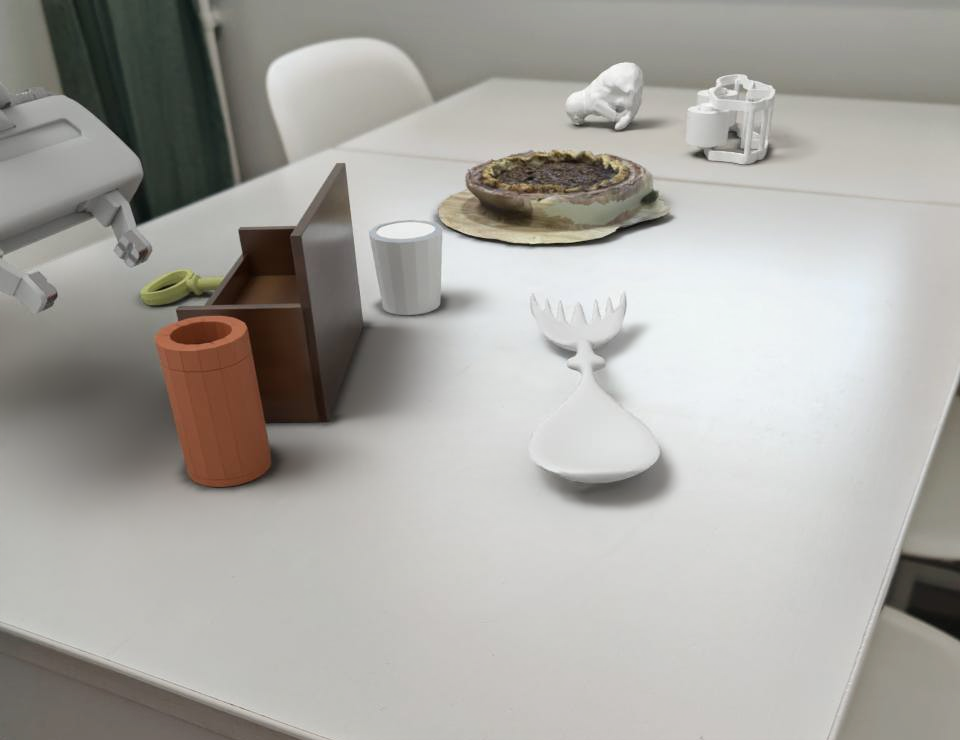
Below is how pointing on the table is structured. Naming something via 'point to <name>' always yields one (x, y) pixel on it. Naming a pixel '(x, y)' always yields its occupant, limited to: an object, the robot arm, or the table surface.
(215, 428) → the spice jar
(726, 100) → the white strut cage
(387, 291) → the white cup
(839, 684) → the table surface
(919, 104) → the table surface
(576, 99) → the white animal figurine
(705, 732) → the table surface
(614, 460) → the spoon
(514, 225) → the pie
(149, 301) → the key
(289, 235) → the box
